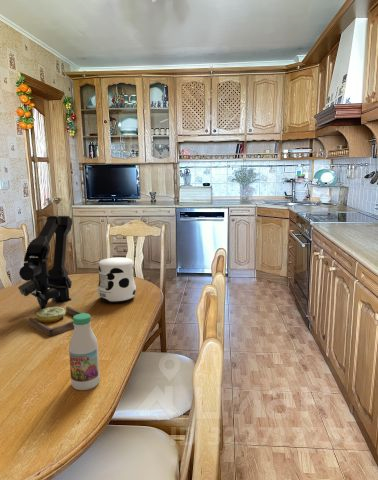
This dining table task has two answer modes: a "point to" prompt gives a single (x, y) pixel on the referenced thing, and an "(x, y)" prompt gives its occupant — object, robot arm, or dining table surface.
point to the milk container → (116, 280)
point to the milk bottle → (83, 354)
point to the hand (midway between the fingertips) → (42, 309)
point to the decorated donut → (50, 314)
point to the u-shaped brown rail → (59, 328)
